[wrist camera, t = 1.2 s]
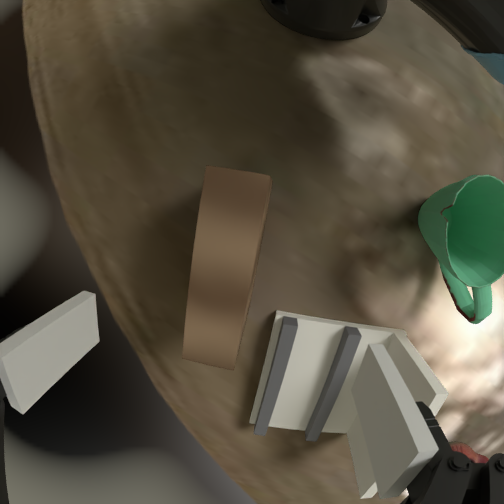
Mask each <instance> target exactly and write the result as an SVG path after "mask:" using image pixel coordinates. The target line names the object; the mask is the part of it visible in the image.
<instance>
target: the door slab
mask: <svg viewBox="0 0 504 504" xmlns="http://www.w3.org/2000/svg"><path fill="white" fill-rule="evenodd" d="M272 183H273V181H272V179H271V177H270V175H265V174H259V173H253V172H247V171H241V170H235V169H229V168H222V167H215V166H208V165H206V170H205V176H204V182H203V188H202V194H201V200H200V207H199V213H198V220H197V227H196V234H195V241H194V249H193V256H192V264H191V273H190V281H189V290H188V299H187V309H186V319H185V329H184V341H183V353H182V359H186V360H190V361H194V362H198V363H202V364H206V365H210V366H215V367H219V368H224V369H229V370H233V371H234V368H235V364H236V360H237V356H238V352H239V348H240V344H241V340H242V336H243V331H244V327H245V323H246V319H247V315H248V311H249V306H250V301H251V296H252V291H253V285H254V280H255V275H256V269H257V264H258V259H259V253H260V248H261V243H262V237H263V232H264V227H265V221H266V216H267V210H268V205H269V199H270V194H271V188H272Z"/></svg>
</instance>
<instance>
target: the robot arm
mask: <svg viewBox="0 0 504 504" xmlns="http://www.w3.org/2000/svg"><path fill="white" fill-rule="evenodd" d="M411 1H412V2H413V3H415V4H416V5H417V6H418V7H420V8H421V9H422V10H424V11H425V12H426V13H427V14H428V15H430V16H431V17H432V18H433V19H434V20H436V21H437V22H438V23H439V24H440V25H441V26H442V27H443V28H445V29H446V30H447V31H448V32H449V33H450V34H451V35H452V36H453V37H454V38H455V39H456V40H457V41H458V42H459V43H460V44H461V47H462V48H463V49H464V50H465V51H466V52H467V53H468V54H471V55H472V56H473V57H474V58H475V59H476V60H477V61H478V62H479V63H480V64H481V65H482V66H483V67H484V68H485V69H486V70H487V71H488V72H489V73H490V75H491V76H492V77H493V78H494V79H496V80H497V81H498V82H500V83H501V84H503V85H504V0H411ZM261 2H262V4H263V6H264V7H265V9H266V10H267V11H268V13H269V14H270V15H271V16H272V17H273V18H275V19H276V20H277V21H278V22H280V23H281V24H283V25H285V26H286V27H288V28H290V29H292V30H294V31H297V32H299V33H302V34H305V35H308V36H312V37H316V38H322V39H331V40H344V39H352V38H356V37H360V36H363V35H365V34H367V33H369V32H370V31H372V30H373V29H374V28H375V27H376V26H377V25H378V24H379V22H380V20H381V19H382V17H383V15H384V13H385V11H386V7H387V0H261ZM98 342H99V333H98V323H97V311H96V295H95V294H94V293H90V292H87V291H82V292H81V293H79V294H78V295H76V296H74V297H73V298H71V299H69V300H67V301H66V302H64V303H63V304H61V305H59V306H58V307H56V308H54V309H53V310H51V311H50V312H48V313H46V314H45V315H43V316H41V317H40V318H38V319H37V320H35V321H34V322H32V323H30V324H29V325H27V326H23V327H20V328H19V329H17V330H15V331H14V332H12V334H9V335H7V336H6V338H3V339H1V340H0V504H9V500H8V493H7V486H6V475H5V462H4V408H5V405H4V401H3V398H4V397H5V396H6V395H7V397H8V400H9V402H10V404H11V406H12V407H13V408H15V409H16V410H17V411H19V412H21V413H22V414H24V413H25V412H26V411H27V410H28V409H29V408H30V407H31V406H32V405H33V404H34V403H35V402H36V401H37V400H38V399H39V398H40V397H41V396H42V395H43V394H44V393H45V392H46V391H47V390H48V389H49V388H50V387H51V386H52V385H54V384H55V383H56V382H57V381H58V379H60V378H61V377H62V376H63V375H64V374H65V373H66V372H67V371H68V370H69V369H70V368H71V367H72V366H73V365H74V364H75V363H77V362H78V361H79V360H80V359H81V358H82V357H83V356H84V355H85V354H86V353H87V352H88V351H89V350H90V349H92V348H93V347H94V346H95V345H96V344H97V343H98ZM351 391H352V395H353V398H354V402H355V405H356V409H357V412H358V416H359V419H360V423H361V426H362V430H363V434H364V437H365V441H366V445H367V449H368V453H369V457H370V461H371V465H372V469H373V473H374V477H375V481H376V485H377V490H378V494H379V498H380V499H383V498H390V497H397V496H399V495H400V494H401V493H402V492H403V491H404V490H405V489H406V488H407V490H408V493H409V495H408V496H407V497H406V498H405V499H404V500H403V501H402V502H401V503H400V504H504V454H501V453H498V454H495V455H493V456H492V457H491V458H490V459H489V460H488V461H487V463H471V460H470V459H469V458H468V457H467V455H465V454H463V453H461V452H457V451H453V450H452V448H451V446H450V444H449V443H448V441H447V439H446V437H445V435H444V433H443V431H442V429H441V427H439V424H438V422H437V420H435V416H434V415H433V413H432V411H431V409H430V408H429V407H428V406H427V405H425V404H424V403H423V402H422V401H419V402H415V401H414V399H413V397H412V395H411V393H410V391H409V390H408V388H407V386H406V384H405V382H404V380H403V379H402V377H401V375H400V373H399V371H398V370H397V368H396V366H395V364H394V362H393V361H392V359H391V357H390V355H389V354H388V352H387V350H386V349H385V347H384V345H382V344H368V346H367V349H366V352H365V355H364V358H363V360H362V363H361V366H360V368H359V371H358V374H357V376H356V379H355V381H354V384H353V386H352V389H351Z"/></svg>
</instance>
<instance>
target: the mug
mask: <svg viewBox="0 0 504 504" xmlns="http://www.w3.org/2000/svg"><path fill="white" fill-rule="evenodd" d="M418 225H419V228H420V231H421V233H422V235H423V238H424V239H425V241H426V242H427V244H428V245H429V247H430V248H431V250H432V251H433V253H434V254H435V256H436V257H437V258H438V261H439V264H440V268H441V271H442V275H443V279H444V281H445V283H446V285H447V288H448V290H449V292H450V294H451V297H452V299H453V301H454V304H455V306H456V308H457V310H458V311H459V312H460V313H461V314H462V315H463V316H464V317H465V318H466V319H467V320H468V321H469V322H470V323H473V324H478V323H480V322H481V321H482V320H484V319H485V318H486V317H487V316H489V315H490V314H491V312H492V291H491V284H492V283H494V282H495V281H497V280H498V279H499V278H501V276H502V275H503V274H504V183H503V182H502V181H501V180H500V179H498V178H496V177H494V176H492V175H471V176H469V177H467V178H465V179H463V180H461V181H459V182H456V183H453V184H450V185H448V186H446V187H444V188H442V189H440V190H439V191H437V192H436V193H434V194H433V195H432V196H430V197H429V198H428V199H427V200H426V201H425V202H424V204H423V205H422V206H421V208H420V211H419V214H418ZM466 285H467V286H470V287H472V292H473V299H472V297H471V295H470V293H469V291H468V289H467V287H466ZM473 300H474V301H473Z"/></svg>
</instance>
